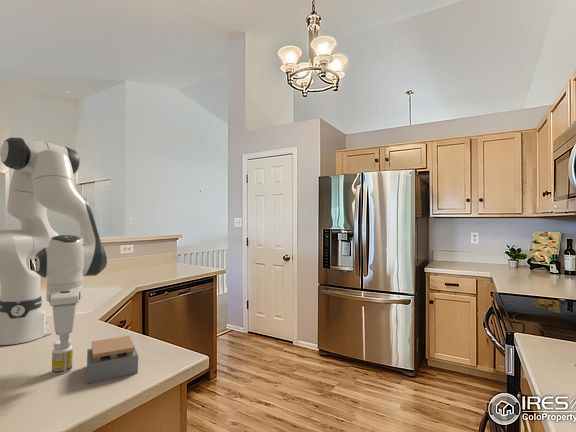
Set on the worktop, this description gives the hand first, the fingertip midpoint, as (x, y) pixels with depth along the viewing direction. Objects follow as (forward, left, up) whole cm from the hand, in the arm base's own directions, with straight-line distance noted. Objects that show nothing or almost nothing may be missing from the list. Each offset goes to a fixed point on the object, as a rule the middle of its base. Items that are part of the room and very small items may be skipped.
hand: (64, 341), depth 92 cm
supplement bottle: (0, -1, -9) cm, 9 cm away
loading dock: (+6, +11, -8) cm, 15 cm away
